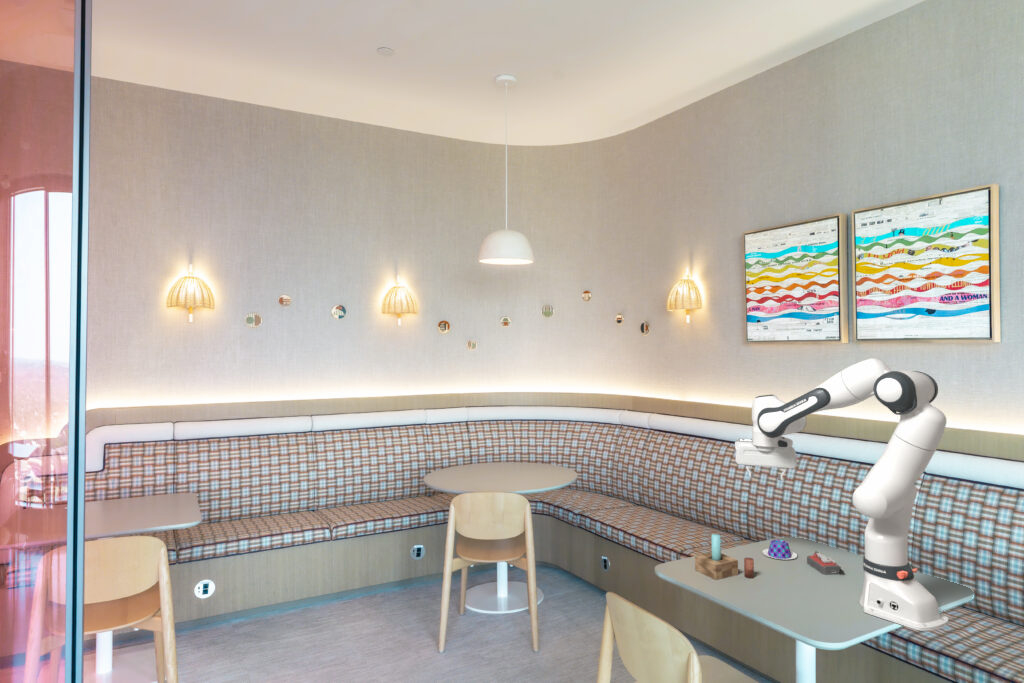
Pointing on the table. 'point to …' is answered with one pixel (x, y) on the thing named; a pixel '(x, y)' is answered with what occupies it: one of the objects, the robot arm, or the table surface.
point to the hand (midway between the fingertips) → (766, 478)
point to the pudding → (779, 550)
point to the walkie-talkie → (824, 564)
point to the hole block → (716, 566)
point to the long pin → (716, 547)
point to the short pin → (749, 567)
